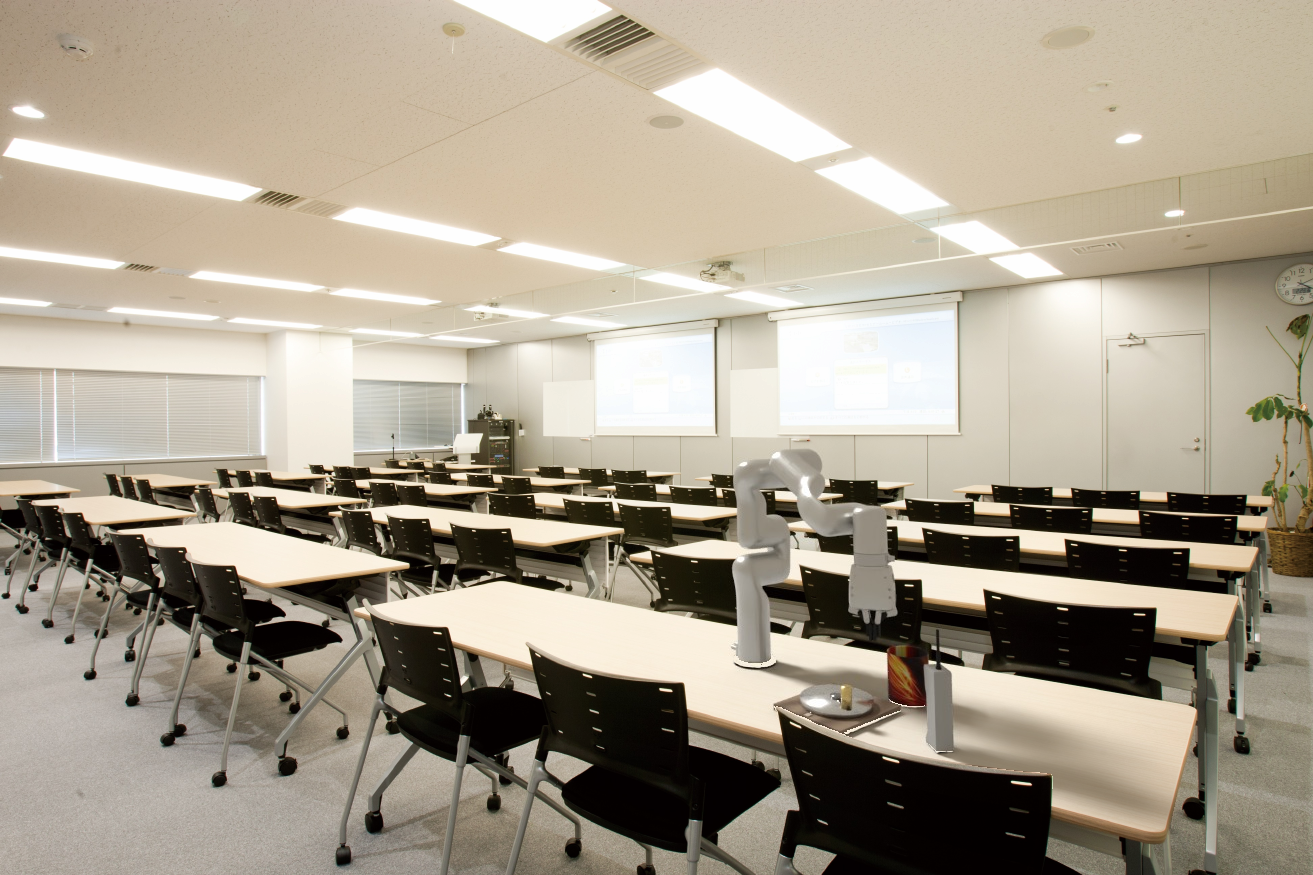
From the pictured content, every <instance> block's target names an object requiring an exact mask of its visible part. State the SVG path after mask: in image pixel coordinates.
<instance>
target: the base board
mask: <svg viewBox="0 0 1313 875" xmlns="http://www.w3.org/2000/svg"><path fill="white" fill-rule="evenodd" d="M826 685H841V684H839V683H837V682H830V683H828V684H826ZM800 694H801V693H799V694H796V695H794V696H792V697H789V698H786V699H783V700H782V699H781V700H780V701H777V702H775V703H773V711H775V708H774V706H775V707H776V706H778V707H782V708H783V709H786V710H788V711H790V712H792V713H794V714H796V715H799V716H802V717H805V718H807V719H809V720H811V721H812V722H814V723H816V724H818V725H822V726H825V727H827V728H829V729H832V730H835V731H838V732H839V733H842V734H845V733H844V732H847V730H850V729H853V728H856V727H858V726H861V725H863V724H865V723H868V722H871V721H873V720H876V719H878V718H881V717H883V716H886V715H889V714H892V713H894V712H897V711H900V710H901V711H902V706H901V705H898V704H895V703H892V702H890V701H889V700H885V699H883V698H880V697H877V696H875V695H871V694H870V695H871V696H872V697H873V700H874V709H873V711H872V712H870V713H869V714H867V715H864V716H861V717H856V718H830V717H825V716H820V715H817V714H814V713H811V712H809V711H807V710H806V709H804V708H803V707H802V706H801V704H800ZM845 735H847V736H848V735H850V734H845Z"/></svg>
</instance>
